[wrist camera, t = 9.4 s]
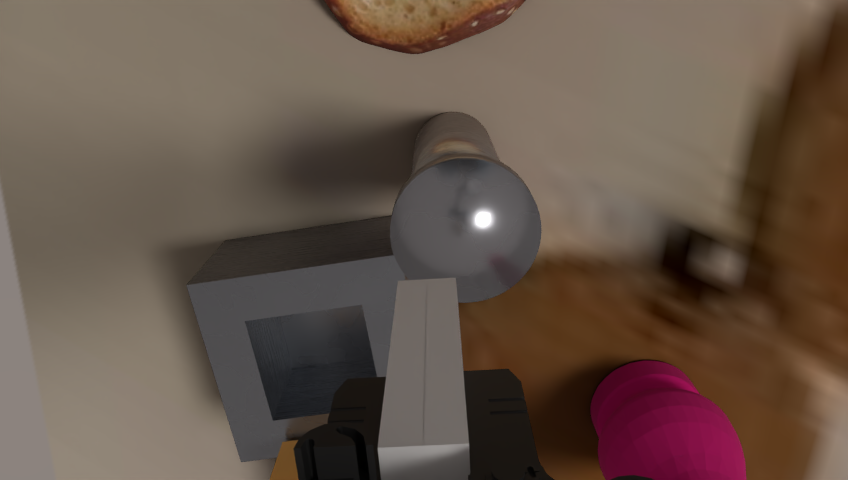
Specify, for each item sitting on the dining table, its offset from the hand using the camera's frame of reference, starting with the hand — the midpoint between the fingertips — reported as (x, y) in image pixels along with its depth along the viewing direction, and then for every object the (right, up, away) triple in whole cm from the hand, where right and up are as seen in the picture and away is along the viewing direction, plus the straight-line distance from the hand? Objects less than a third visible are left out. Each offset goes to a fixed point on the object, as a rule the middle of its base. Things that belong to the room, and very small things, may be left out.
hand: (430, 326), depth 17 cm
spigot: (+1, +7, +17) cm, 18 cm away
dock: (-4, -7, +22) cm, 23 cm away
